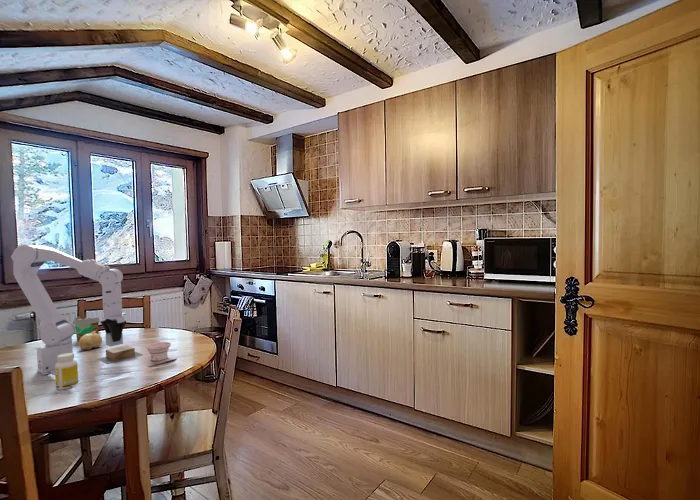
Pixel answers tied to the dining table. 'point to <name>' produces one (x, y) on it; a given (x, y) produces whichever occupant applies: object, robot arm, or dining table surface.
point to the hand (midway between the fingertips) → (114, 340)
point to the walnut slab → (120, 353)
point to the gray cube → (110, 341)
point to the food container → (85, 326)
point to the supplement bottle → (66, 371)
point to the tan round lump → (90, 341)
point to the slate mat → (117, 360)
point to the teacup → (159, 352)
